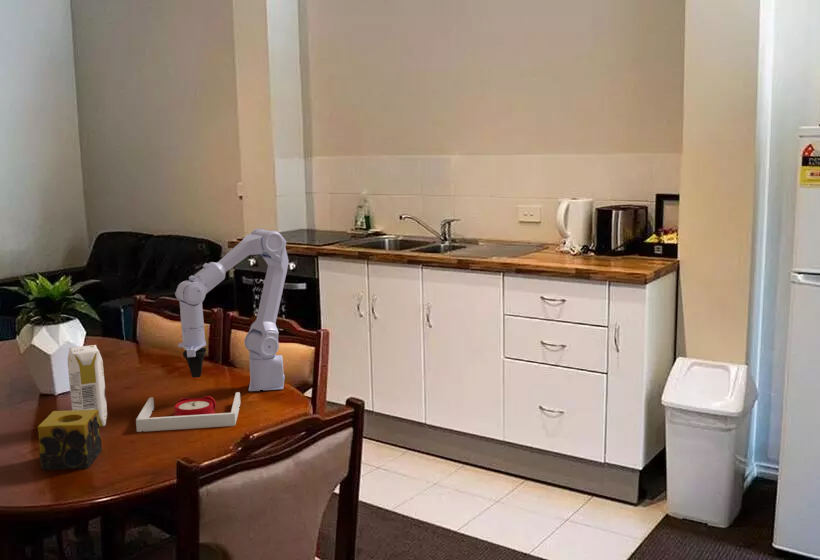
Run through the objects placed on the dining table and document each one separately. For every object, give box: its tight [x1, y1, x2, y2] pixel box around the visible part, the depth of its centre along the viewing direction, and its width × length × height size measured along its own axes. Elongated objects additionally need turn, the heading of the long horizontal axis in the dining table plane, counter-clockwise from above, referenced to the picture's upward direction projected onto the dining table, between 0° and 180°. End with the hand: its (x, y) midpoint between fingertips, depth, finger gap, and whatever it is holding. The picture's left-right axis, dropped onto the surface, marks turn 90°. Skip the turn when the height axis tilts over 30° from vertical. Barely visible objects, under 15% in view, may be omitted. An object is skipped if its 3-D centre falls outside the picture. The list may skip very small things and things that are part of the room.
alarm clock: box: [173, 395, 217, 416], centre depth 201 cm, size 10×6×15 cm
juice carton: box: [67, 344, 108, 427], centre depth 196 cm, size 8×9×19 cm
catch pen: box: [135, 391, 241, 433], centre depth 201 cm, size 23×18×3 cm
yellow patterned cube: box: [37, 409, 103, 471], centre depth 173 cm, size 10×10×10 cm
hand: (196, 376), depth 213 cm, fingers closed
